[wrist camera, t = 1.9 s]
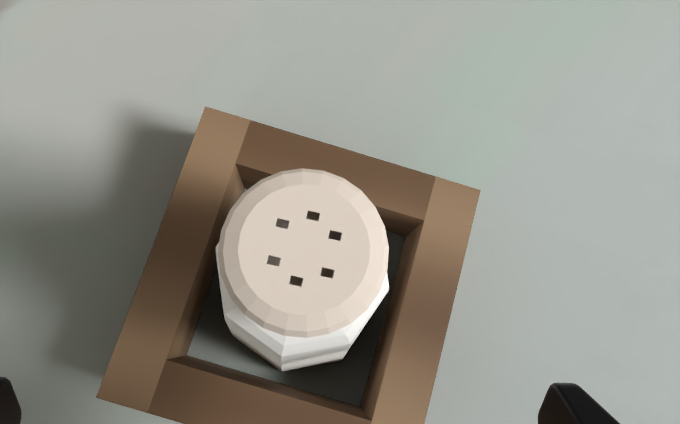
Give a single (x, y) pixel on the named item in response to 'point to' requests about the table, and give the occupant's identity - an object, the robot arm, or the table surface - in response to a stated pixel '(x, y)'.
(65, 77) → the table surface
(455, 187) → the socket block
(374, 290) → the pepper shaker
